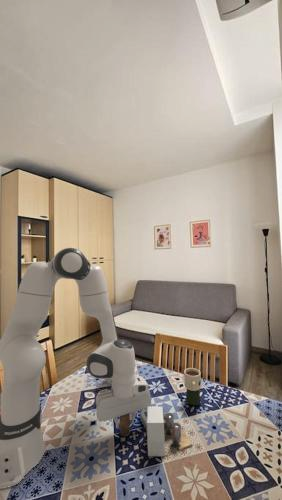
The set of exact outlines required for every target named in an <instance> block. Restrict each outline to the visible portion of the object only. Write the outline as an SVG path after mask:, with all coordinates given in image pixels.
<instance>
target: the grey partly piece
mask: <svg viewBox="0 0 282 500" xmlns="http://www.w3.org/2000/svg"><path fill="white" fill-rule="evenodd" d="M158 406H162V405H161V404H159V405H158ZM166 414H167V412H166V411H165V409H164V408H163V417H164V431H166V423H165V415H166ZM139 419H140V420H141V423H142V424H143V425H142V426H143V427H144V429H145V431H146V432H147V408H146V409H143V410H139Z"/></svg>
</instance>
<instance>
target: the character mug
mask: <svg viewBox="0 0 282 500" xmlns="http://www.w3.org/2000/svg"><path fill="white" fill-rule="evenodd" d="M201 376H202V374H201V371H200V370H199V369H197V368H194V367H188V368H185V369H184V371H183V379H184V381H183V384H184V387H185V389H186V393H185V401H186V403H187V404H189V405H190V406H199V405H201V403H202V401H201V393H200V389H201V388H202V377H201Z"/></svg>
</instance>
